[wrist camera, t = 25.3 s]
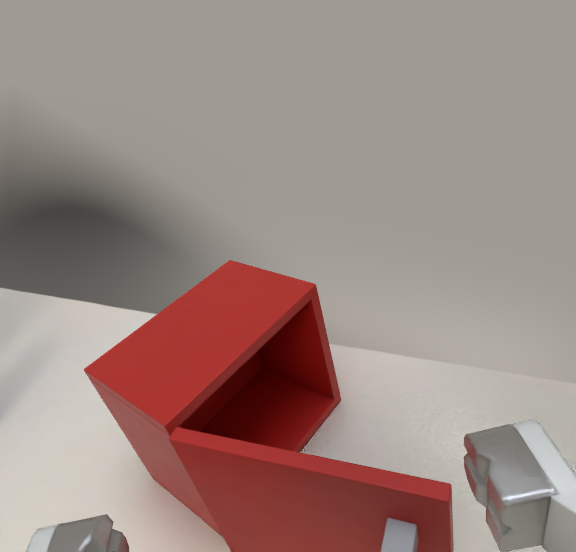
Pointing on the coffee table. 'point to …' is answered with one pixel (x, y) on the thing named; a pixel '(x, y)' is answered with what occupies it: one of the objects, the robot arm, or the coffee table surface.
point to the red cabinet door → (312, 500)
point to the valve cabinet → (222, 371)
